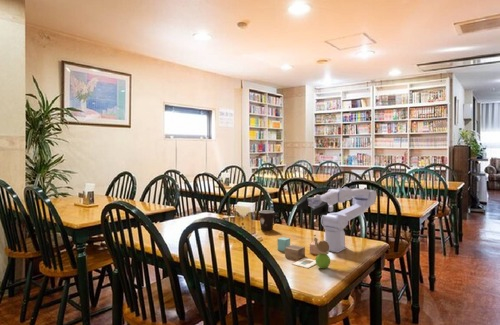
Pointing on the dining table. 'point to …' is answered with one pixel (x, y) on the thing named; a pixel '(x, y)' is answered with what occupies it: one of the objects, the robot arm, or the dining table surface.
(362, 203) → the robot arm
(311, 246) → the terracotta brick
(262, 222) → the coffee mug
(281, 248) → the teal brick
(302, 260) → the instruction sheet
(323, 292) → the dining table surface
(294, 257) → the walnut base brick
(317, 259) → the snail figurine
